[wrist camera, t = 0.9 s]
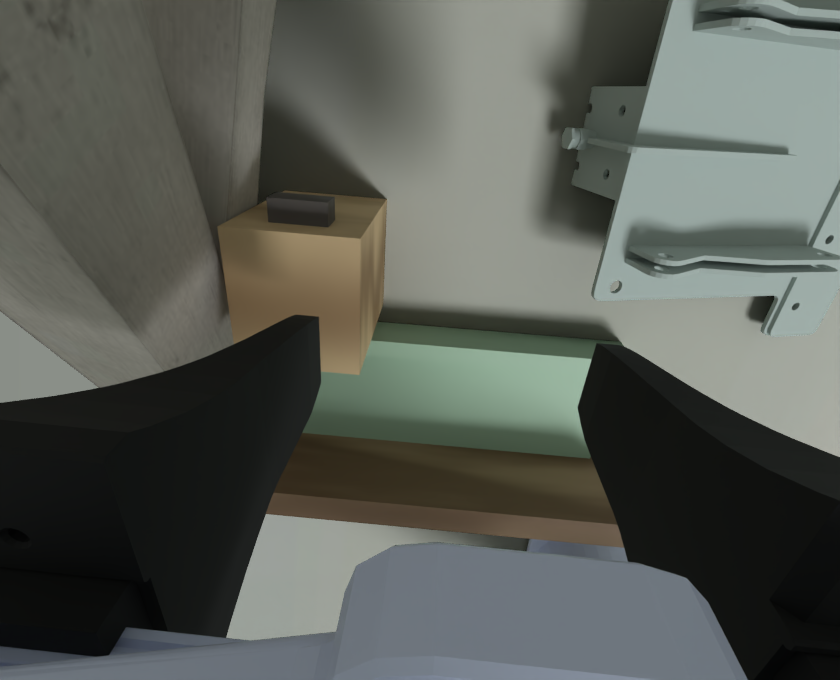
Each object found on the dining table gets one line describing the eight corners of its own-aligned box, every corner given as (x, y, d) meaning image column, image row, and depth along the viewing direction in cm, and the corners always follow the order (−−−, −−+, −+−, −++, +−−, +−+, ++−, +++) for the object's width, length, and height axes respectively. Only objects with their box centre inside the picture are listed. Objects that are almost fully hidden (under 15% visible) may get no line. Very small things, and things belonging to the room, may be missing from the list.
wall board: (598, 472, 26) (628, 548, 22) (290, 444, 27) (258, 513, 22) (605, 452, 25) (637, 526, 21) (288, 424, 26) (254, 490, 22)
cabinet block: (383, 303, 22) (359, 375, 16) (291, 295, 22) (236, 363, 16) (387, 179, 19) (360, 212, 14) (283, 171, 19) (213, 200, 14)
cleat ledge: (587, 451, 25) (597, 477, 24) (305, 426, 26) (295, 449, 24) (620, 341, 22) (635, 362, 20) (297, 315, 23) (284, 333, 21)
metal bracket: (585, 370, 17) (753, -223, 10) (520, 306, 22) (600, -118, 15) (872, 350, 20) (1155, -104, 13) (759, 298, 25) (919, -51, 18)
